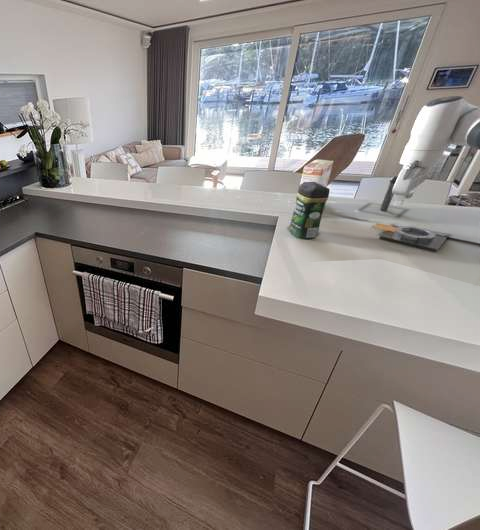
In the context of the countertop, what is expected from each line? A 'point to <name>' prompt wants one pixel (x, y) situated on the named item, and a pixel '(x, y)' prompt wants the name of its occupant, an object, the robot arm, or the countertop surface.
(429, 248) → the hob plate
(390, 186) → the post
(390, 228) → the steel loop
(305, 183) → the coffee jar
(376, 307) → the countertop surface
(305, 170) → the coffeecake box
